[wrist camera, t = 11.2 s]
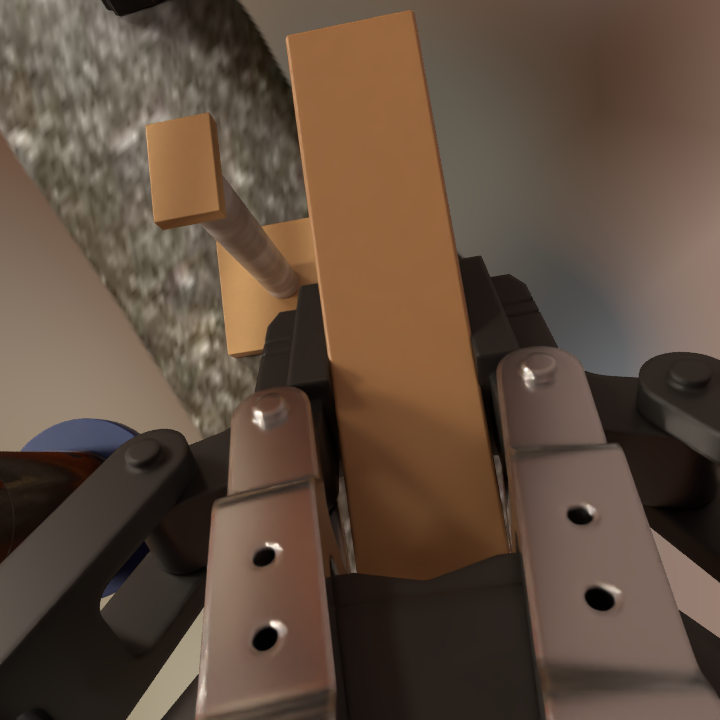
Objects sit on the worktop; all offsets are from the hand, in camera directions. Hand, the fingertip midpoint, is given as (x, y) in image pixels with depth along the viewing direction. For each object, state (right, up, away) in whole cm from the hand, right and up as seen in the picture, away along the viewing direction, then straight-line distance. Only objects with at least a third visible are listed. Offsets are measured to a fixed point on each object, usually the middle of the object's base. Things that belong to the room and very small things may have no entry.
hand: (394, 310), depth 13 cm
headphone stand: (-7, +5, +36) cm, 37 cm away
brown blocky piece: (+2, -4, +10) cm, 11 cm away
